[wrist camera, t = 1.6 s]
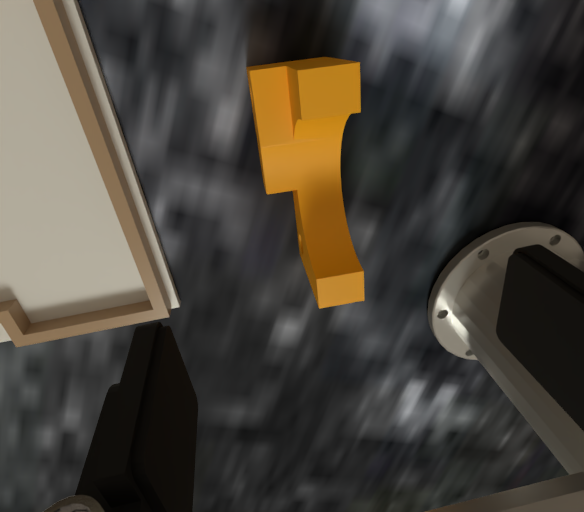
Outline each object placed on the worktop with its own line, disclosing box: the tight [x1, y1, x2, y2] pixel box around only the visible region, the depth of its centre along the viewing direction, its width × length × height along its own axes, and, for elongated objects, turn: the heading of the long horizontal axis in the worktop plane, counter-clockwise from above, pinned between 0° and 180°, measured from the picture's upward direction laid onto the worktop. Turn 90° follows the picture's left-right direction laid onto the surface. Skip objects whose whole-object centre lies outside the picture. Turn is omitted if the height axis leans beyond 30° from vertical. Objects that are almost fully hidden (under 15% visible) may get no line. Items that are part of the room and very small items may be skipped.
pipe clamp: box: [246, 57, 364, 308], centre depth 21 cm, size 12×4×6 cm, turn 6°
